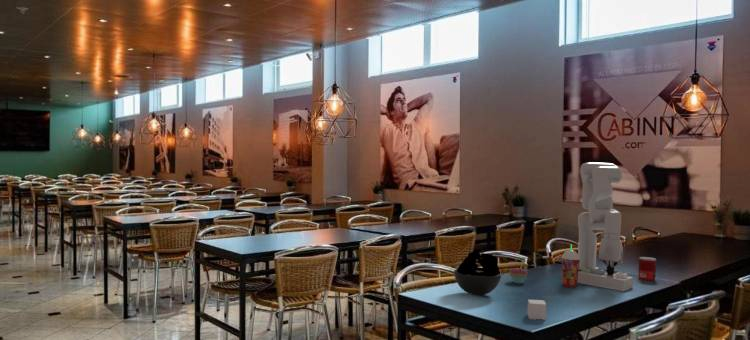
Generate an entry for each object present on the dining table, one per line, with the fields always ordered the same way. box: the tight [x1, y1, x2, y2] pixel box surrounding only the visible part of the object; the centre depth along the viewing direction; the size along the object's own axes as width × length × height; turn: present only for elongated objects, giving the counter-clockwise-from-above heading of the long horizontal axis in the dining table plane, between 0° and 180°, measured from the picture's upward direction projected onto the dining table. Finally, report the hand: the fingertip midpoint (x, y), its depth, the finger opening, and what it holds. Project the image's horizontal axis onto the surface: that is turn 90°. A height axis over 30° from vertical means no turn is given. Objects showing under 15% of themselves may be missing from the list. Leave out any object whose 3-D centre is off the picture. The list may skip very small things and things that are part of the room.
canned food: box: [637, 256, 657, 282], centre depth 302 cm, size 8×8×11 cm
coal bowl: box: [453, 249, 502, 297], centre depth 254 cm, size 20×20×19 cm
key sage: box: [582, 267, 594, 273], centre depth 290 cm, size 4×4×4 cm
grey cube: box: [526, 299, 547, 321], centre depth 222 cm, size 6×6×6 cm
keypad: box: [577, 270, 634, 292], centre depth 284 cm, size 23×11×5 cm, turn 46°
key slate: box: [593, 268, 606, 275], centre depth 286 cm, size 4×4×4 cm
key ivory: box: [615, 271, 628, 279], centre depth 279 cm, size 4×4×4 cm
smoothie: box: [561, 244, 580, 289], centre depth 279 cm, size 8×8×20 cm
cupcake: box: [509, 259, 528, 284], centre depth 283 cm, size 9×8×12 cm
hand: (610, 274), depth 282 cm, fingers closed
